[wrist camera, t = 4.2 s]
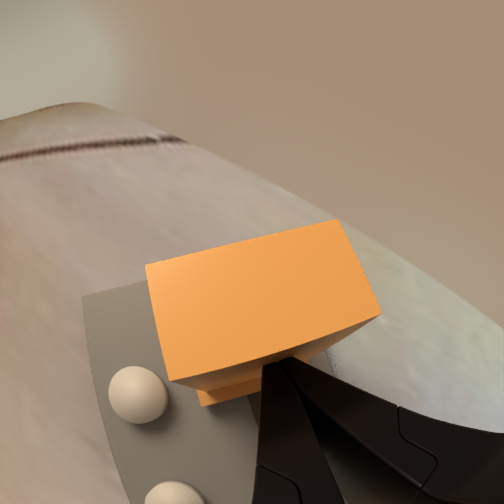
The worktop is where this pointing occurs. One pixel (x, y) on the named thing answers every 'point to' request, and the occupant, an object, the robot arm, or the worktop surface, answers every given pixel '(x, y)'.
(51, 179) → the worktop surface
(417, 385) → the worktop surface
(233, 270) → the fader tab
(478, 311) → the worktop surface
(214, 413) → the console board
